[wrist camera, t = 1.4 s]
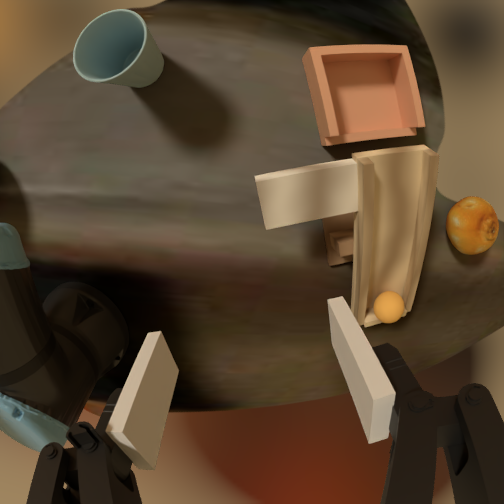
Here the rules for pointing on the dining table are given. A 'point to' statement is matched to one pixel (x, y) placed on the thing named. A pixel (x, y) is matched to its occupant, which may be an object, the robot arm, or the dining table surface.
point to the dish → (363, 92)
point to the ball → (388, 307)
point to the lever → (365, 215)
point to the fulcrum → (339, 238)
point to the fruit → (472, 225)
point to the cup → (118, 51)
